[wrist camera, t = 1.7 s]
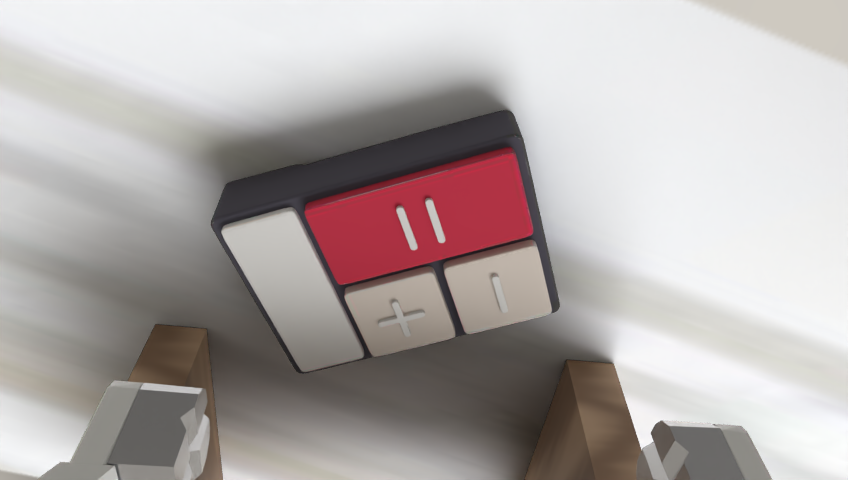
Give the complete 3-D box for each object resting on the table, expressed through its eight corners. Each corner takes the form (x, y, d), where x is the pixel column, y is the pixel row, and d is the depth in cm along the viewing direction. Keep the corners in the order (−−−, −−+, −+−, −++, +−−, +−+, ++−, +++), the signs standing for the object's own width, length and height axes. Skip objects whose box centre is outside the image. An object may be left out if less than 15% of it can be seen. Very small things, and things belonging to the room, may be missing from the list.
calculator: (565, 321, 34) (296, 387, 35) (548, 271, 37) (304, 333, 39) (525, 139, 27) (202, 229, 29) (509, 99, 31) (221, 182, 33)
